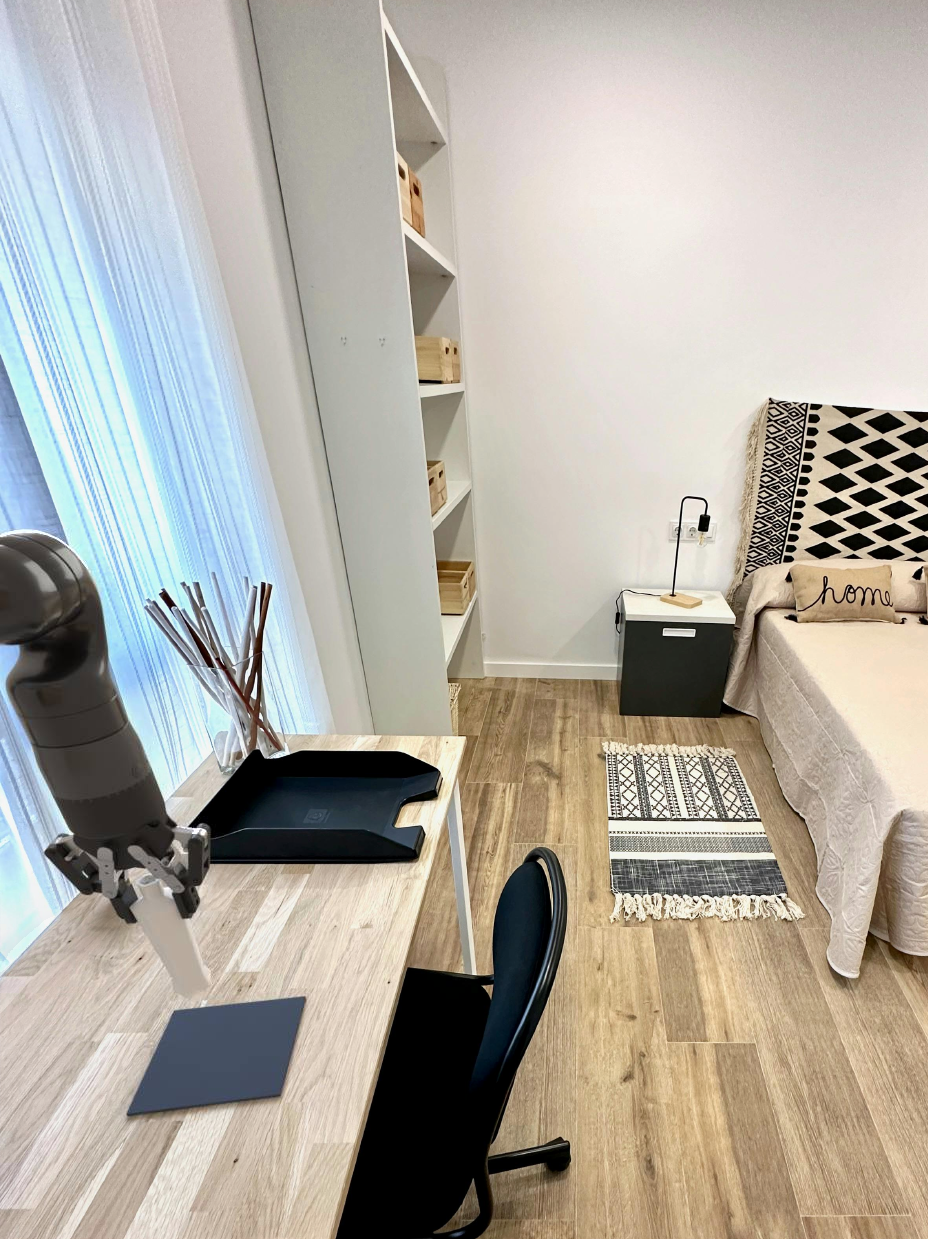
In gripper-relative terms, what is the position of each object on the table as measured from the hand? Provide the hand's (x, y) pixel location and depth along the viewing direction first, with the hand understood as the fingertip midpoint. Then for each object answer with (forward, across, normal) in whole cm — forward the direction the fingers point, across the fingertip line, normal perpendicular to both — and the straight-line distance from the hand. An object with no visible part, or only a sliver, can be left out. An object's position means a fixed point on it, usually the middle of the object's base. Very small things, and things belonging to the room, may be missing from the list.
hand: (162, 915), depth 67 cm
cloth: (+22, 0, 0) cm, 22 cm away
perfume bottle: (+11, 0, 0) cm, 11 cm away
